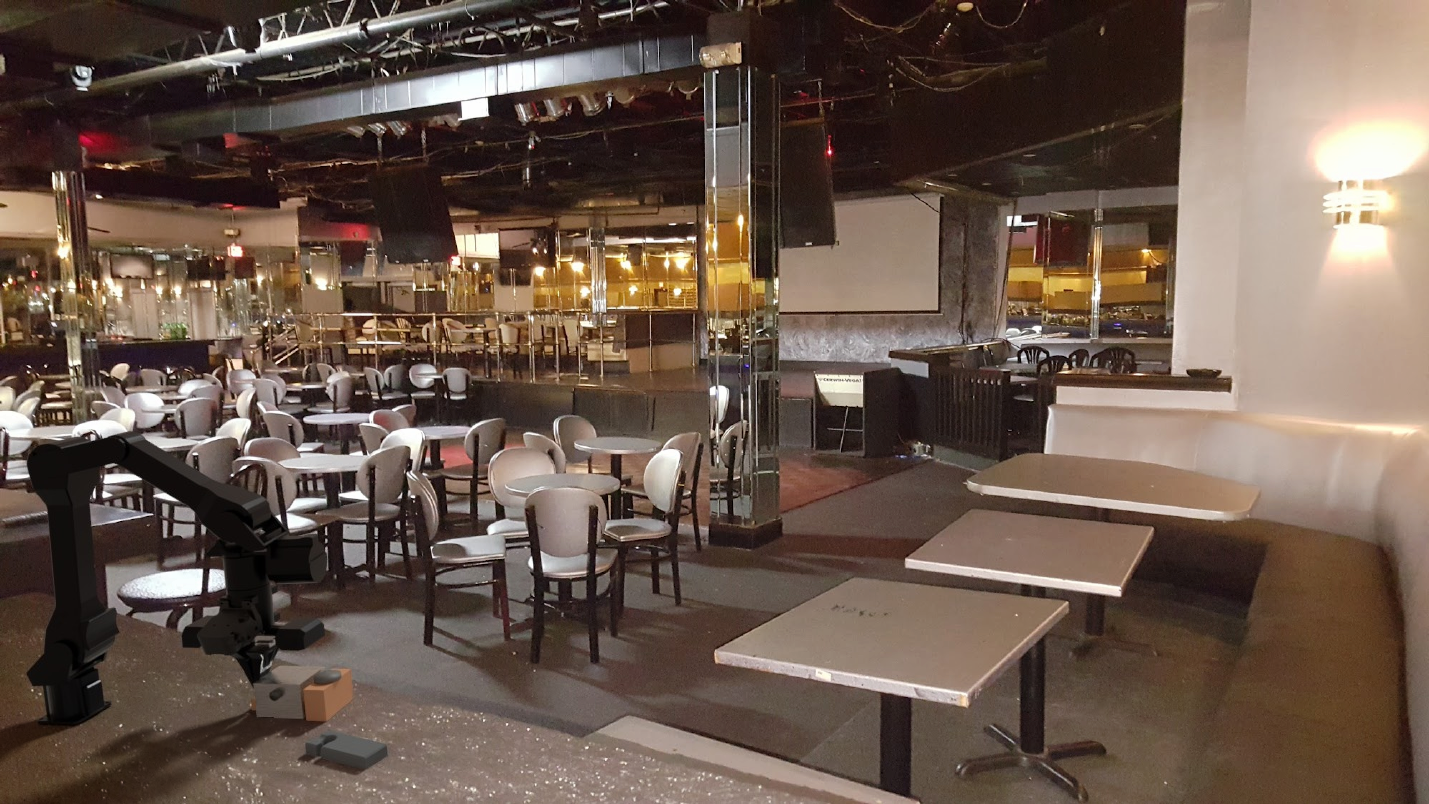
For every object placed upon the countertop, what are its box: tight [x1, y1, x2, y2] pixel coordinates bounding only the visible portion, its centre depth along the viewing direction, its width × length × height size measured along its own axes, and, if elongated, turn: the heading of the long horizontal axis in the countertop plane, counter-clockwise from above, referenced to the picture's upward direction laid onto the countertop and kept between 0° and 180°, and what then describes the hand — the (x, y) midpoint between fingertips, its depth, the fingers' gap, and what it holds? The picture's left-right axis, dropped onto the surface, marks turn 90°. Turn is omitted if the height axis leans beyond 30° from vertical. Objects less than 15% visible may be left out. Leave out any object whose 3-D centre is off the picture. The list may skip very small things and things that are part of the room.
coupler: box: [250, 668, 354, 722], centre depth 129 cm, size 13×7×5 cm, turn 82°
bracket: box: [304, 729, 388, 770], centre depth 116 cm, size 4×10×2 cm, turn 65°
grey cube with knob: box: [253, 665, 326, 720], centre depth 129 cm, size 7×7×5 cm
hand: (259, 689), depth 130 cm, fingers closed
